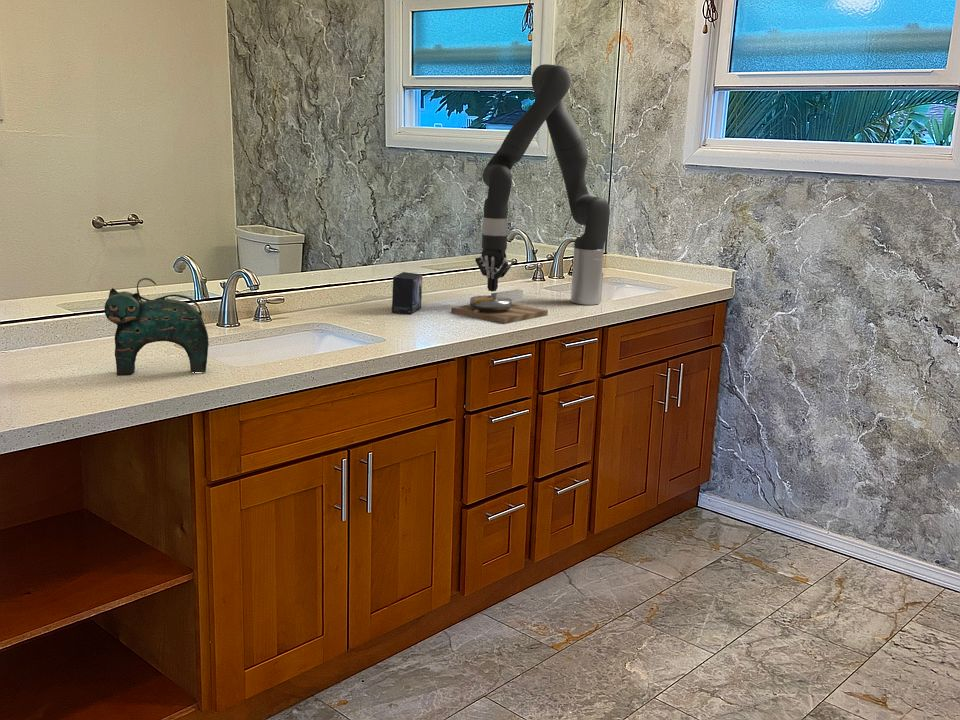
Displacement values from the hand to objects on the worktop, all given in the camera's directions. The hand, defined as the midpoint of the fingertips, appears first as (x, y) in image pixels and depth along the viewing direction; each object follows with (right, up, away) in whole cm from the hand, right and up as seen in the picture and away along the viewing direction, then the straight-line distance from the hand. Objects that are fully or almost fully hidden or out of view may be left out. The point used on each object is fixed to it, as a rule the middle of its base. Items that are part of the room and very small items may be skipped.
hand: (492, 290), depth 286 cm
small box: (-25, -7, -10) cm, 27 cm away
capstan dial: (+1, -5, -8) cm, 10 cm away
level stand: (+2, -7, -8) cm, 11 cm away
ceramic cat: (-70, -23, -87) cm, 114 cm away
